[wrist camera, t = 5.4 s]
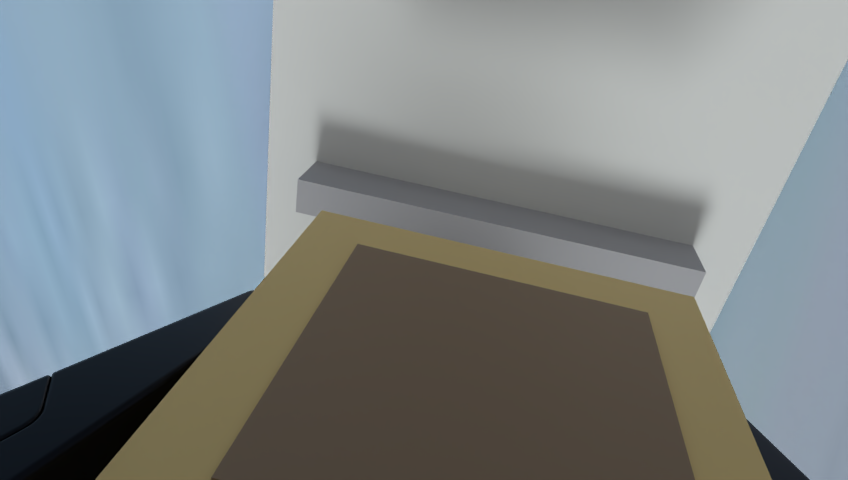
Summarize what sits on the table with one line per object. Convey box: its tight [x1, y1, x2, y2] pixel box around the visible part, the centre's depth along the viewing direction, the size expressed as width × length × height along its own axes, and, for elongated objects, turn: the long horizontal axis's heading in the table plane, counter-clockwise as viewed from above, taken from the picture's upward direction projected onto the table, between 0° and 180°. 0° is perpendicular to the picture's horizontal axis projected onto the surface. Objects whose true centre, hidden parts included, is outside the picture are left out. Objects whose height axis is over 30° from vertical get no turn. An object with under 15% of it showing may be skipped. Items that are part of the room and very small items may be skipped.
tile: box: [95, 210, 772, 480], centre depth 8 cm, size 7×2×7 cm, turn 80°
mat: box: [264, 0, 848, 333], centre depth 15 cm, size 14×14×2 cm
